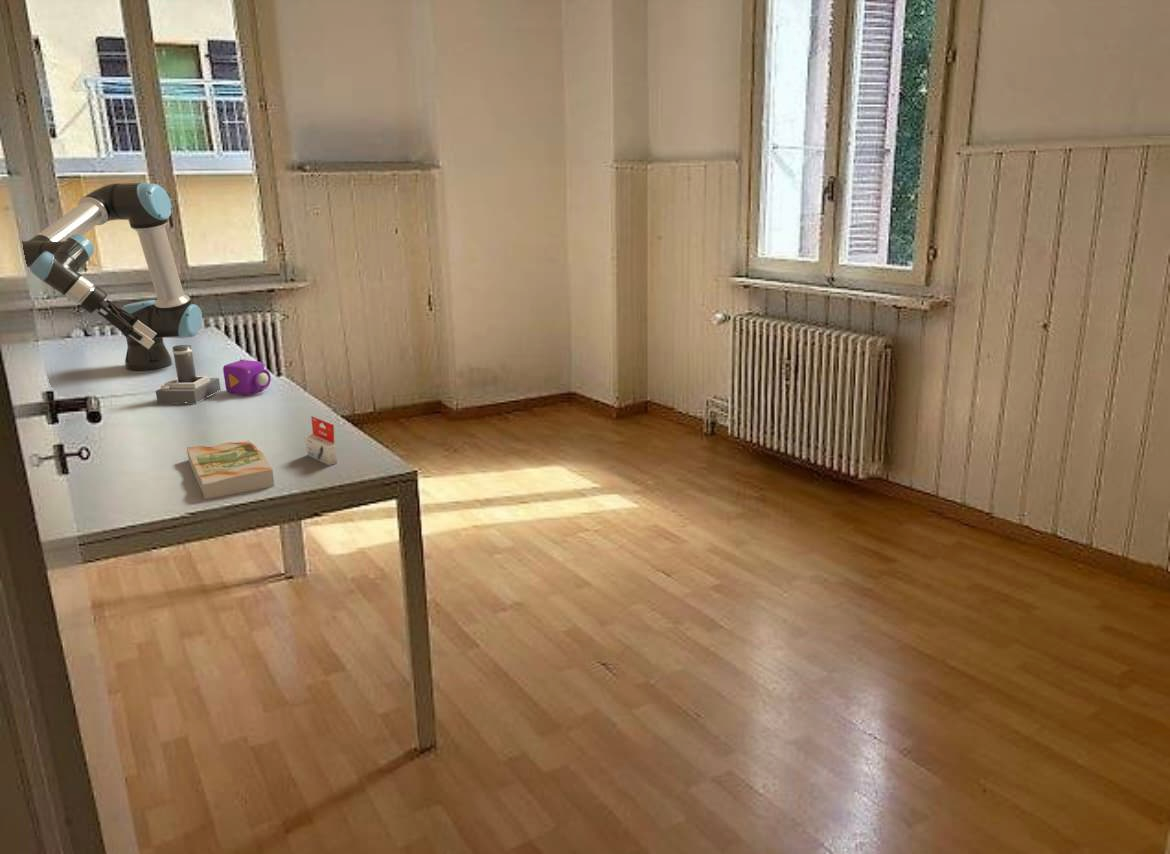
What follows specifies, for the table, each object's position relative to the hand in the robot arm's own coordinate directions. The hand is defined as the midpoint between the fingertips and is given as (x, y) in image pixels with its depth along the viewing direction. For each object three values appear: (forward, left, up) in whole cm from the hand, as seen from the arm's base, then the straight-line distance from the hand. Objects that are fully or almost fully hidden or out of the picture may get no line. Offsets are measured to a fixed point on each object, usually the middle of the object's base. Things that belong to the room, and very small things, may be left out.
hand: (152, 341), depth 262 cm
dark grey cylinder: (-3, +7, -14) cm, 16 cm away
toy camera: (-10, +24, -19) cm, 32 cm away
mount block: (-4, +7, -18) cm, 20 cm away
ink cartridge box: (+53, +70, -19) cm, 90 cm away
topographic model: (+63, +51, -19) cm, 84 cm away
